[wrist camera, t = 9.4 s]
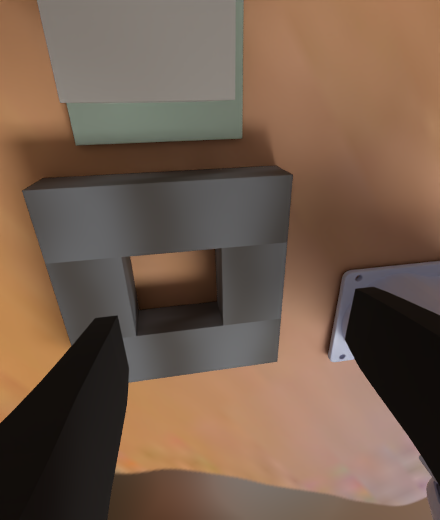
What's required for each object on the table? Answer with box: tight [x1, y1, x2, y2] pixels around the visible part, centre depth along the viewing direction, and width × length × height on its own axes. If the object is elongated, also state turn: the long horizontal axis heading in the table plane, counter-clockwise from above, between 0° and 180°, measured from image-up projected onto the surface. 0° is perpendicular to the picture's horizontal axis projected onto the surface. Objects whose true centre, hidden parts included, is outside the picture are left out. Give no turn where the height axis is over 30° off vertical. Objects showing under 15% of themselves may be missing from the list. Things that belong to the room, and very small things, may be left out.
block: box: [37, 0, 236, 103], centre depth 10 cm, size 4×4×8 cm
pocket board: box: [22, 166, 293, 383], centre depth 18 cm, size 12×12×2 cm
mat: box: [66, 0, 244, 145], centre depth 13 cm, size 8×8×1 cm
